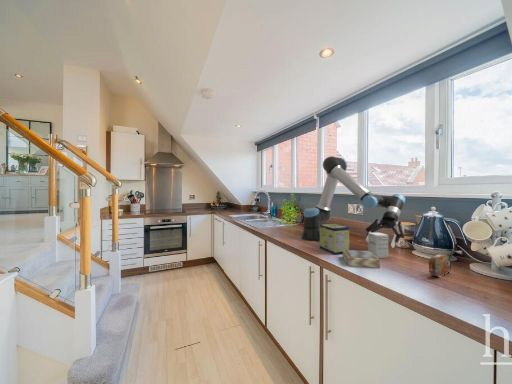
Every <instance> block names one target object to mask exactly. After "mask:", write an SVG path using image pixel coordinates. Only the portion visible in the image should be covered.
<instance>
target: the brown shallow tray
mask: <svg viewBox="0 0 512 384" xmlns="http://www.w3.org/2000/svg"><path fill="white" fill-rule="evenodd" d="M342 258H343V260H344V261H345V262H346V264H347V266H349V267H361V268H376V269H377V268H378V269H380V268H381V259H380V258H377V257H376V256H375V255H374V254H373V253H372V252H371V251H368V250H357V249H355V250H354V249H349V250H343V254H342Z"/></svg>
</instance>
